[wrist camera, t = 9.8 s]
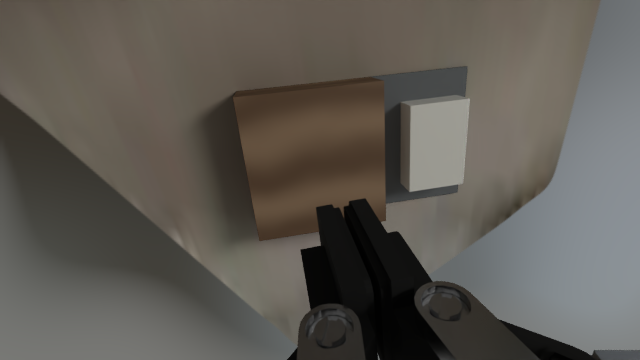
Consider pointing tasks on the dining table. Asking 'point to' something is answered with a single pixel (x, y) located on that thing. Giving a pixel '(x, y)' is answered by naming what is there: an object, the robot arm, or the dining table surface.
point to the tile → (433, 142)
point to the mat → (395, 93)
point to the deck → (312, 151)
